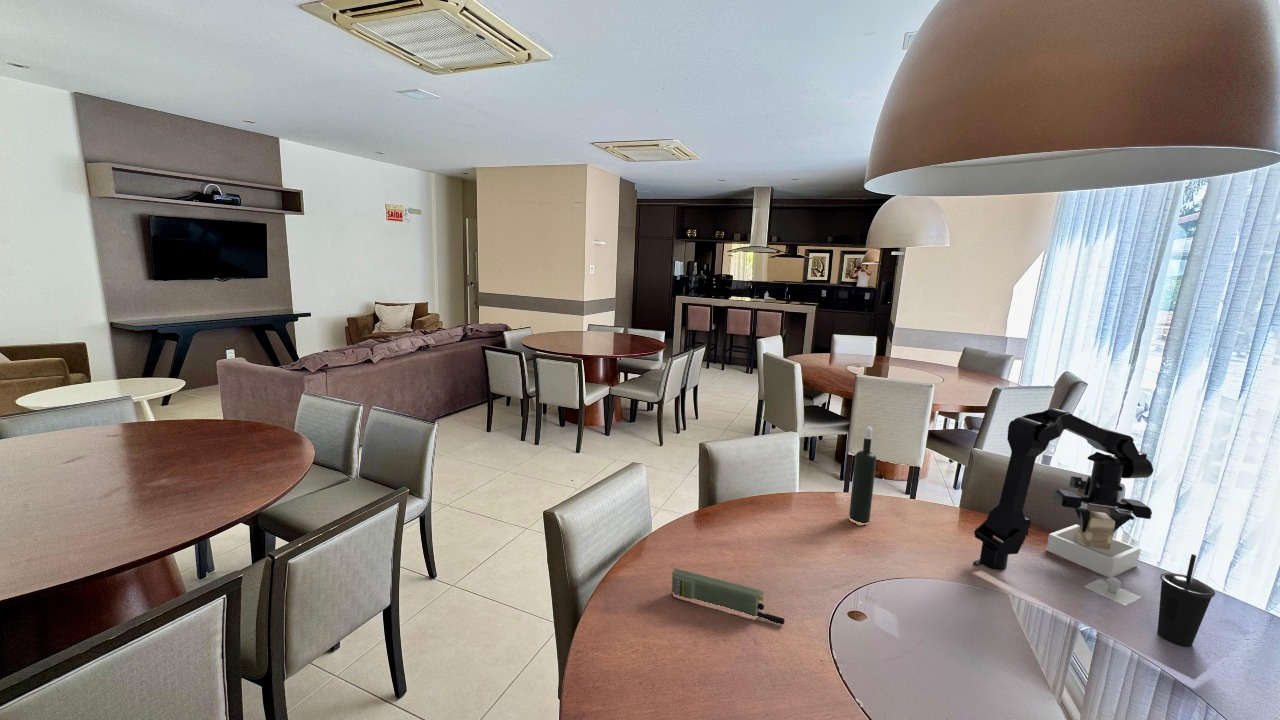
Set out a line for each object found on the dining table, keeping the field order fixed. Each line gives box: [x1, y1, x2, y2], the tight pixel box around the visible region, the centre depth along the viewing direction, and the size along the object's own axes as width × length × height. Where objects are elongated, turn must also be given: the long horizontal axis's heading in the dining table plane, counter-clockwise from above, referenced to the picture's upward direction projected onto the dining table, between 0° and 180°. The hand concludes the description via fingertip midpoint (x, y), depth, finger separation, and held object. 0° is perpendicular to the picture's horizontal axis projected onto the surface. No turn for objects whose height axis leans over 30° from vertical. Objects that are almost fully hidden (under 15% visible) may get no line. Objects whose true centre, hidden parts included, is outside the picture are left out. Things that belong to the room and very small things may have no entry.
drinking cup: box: [1156, 553, 1216, 648], centre depth 104 cm, size 8×8×20 cm
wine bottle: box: [848, 426, 877, 523], centre depth 152 cm, size 6×6×30 cm
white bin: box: [1046, 523, 1141, 578], centre depth 135 cm, size 14×14×6 cm
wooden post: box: [1077, 510, 1116, 550], centre depth 134 cm, size 5×5×8 cm
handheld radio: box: [671, 567, 785, 625], centre depth 112 cm, size 7×3×25 cm
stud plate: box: [1082, 577, 1142, 607], centre depth 120 cm, size 8×8×5 cm
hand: (1094, 533), depth 134 cm, fingers closed on wooden post, 5 cm apart
